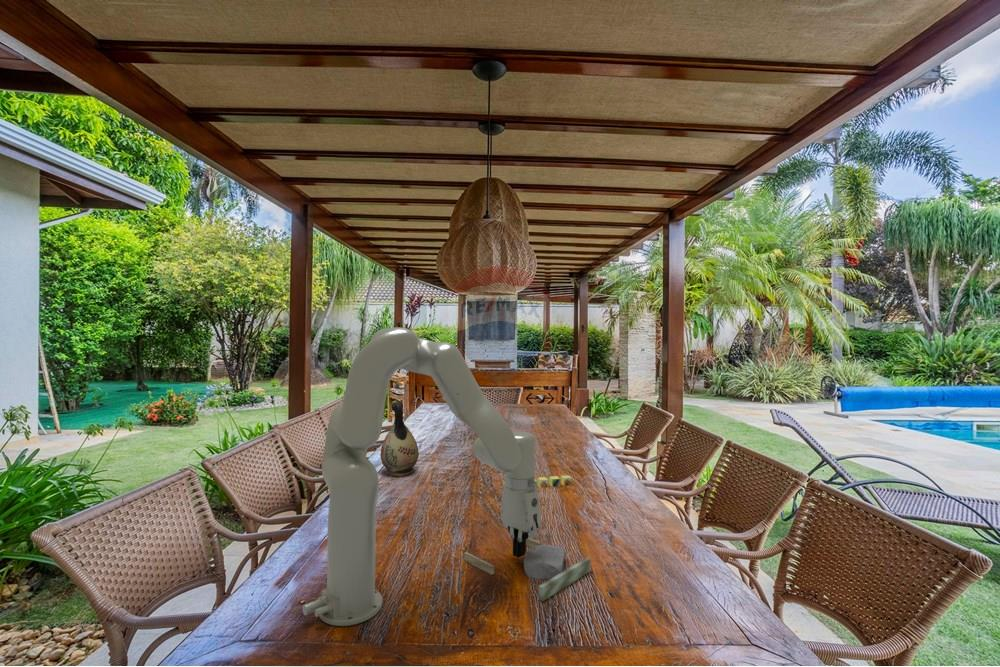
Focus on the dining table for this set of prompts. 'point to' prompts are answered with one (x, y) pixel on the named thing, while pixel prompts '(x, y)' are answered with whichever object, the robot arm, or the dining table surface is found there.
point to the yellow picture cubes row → (554, 481)
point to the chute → (550, 585)
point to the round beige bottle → (399, 446)
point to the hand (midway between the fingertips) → (519, 554)
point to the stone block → (544, 561)
